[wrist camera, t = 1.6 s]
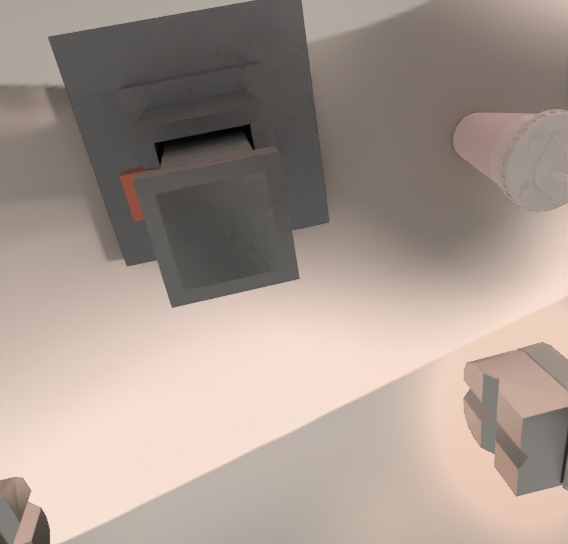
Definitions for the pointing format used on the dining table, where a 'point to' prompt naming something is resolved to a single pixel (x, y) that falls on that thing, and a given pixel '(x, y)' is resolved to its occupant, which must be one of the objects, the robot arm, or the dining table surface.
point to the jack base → (194, 100)
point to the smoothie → (519, 154)
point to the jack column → (217, 217)
